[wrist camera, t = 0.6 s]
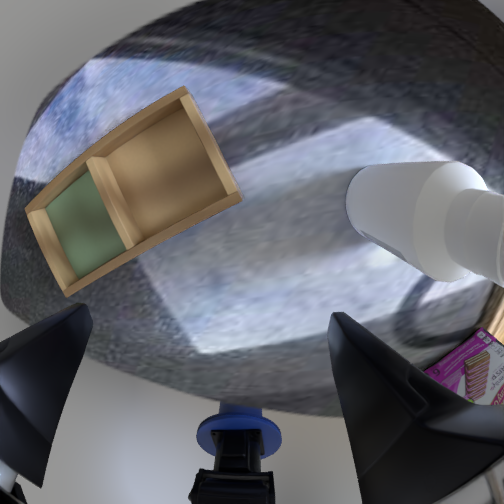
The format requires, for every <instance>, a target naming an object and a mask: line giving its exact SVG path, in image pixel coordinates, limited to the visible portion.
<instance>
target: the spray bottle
mask: <svg viewBox="0 0 504 504" xmlns="http://www.w3.org/2000/svg"><path fill="white" fill-rule="evenodd" d="M346 209H347V215H348V217H349V220H350V222H351V224H352V226H353V227H354V228H355V229H356V230H357V232H358V233H359V234H360V235H362V236H364V237H366V238H367V239H369V240H371V241H372V242H374V243H376V244H377V245H379V246H381V247H383V248H384V249H386V250H388V251H389V252H391V253H392V254H394V255H396V256H397V257H399V258H401V259H402V260H404V261H405V262H407V263H409V264H410V265H412V266H413V267H415V268H416V269H418V270H420V271H421V272H423V273H424V274H426V275H427V276H429V277H431V278H432V279H434V280H435V281H441V282H454V281H456V280H459V279H462V278H464V277H465V276H466V275H468V274H469V273H470V272H473V273H475V274H478V275H482V276H484V277H486V278H488V279H489V280H491V281H493V282H495V283H497V284H498V285H500V286H502V287H503V288H504V195H501V194H497V193H495V192H493V191H488V189H487V187H486V185H485V183H484V181H483V179H482V178H481V176H480V175H479V174H478V173H477V172H476V171H475V170H474V169H473V168H472V167H470V166H467V165H465V164H463V163H461V162H458V161H431V162H406V163H389V164H377V165H370V166H368V167H366V168H364V169H362V170H360V171H359V172H358V173H357V174H356V176H355V177H354V178H353V179H352V181H351V183H350V185H349V187H348V189H347V196H346Z"/></svg>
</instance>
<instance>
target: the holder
mask: <svg viewBox="0 0 504 504" xmlns="http://www.w3.org/2000/svg"><path fill="white" fill-rule="evenodd" d="M243 199H244V196H243V194H242V192H241V190H240V188H239V186H238V184H237V182H236V180H235V178H234V176H233V174H232V172H231V170H230V168H229V166H228V164H227V162H226V160H225V158H224V156H223V154H222V152H221V150H220V148H219V146H218V144H217V143H216V141H215V139H214V137H213V135H212V133H211V131H210V129H209V127H208V125H207V123H206V121H205V119H204V117H203V115H202V113H201V111H200V109H199V107H198V106H197V104H196V102H195V100H194V98H193V96H192V95H191V93H190V92H189V91H188V90H187V88H186V87H185V86H182V87H180V88H178V89H177V90H175V91H173V92H171V93H169V94H168V95H166V96H164V97H162V98H161V99H159V100H157V101H156V102H154V103H152V104H151V105H149V106H148V107H146V108H144V109H143V110H141V111H140V112H138V113H137V114H135V115H134V116H132V117H131V118H129V119H128V120H126V121H125V122H123V123H122V124H120V125H119V126H118V127H116V128H115V129H113V130H112V131H111V132H109V133H108V134H107V135H105V136H104V137H103V138H101V139H100V140H99V141H97V142H96V143H95V144H94V145H92V146H91V147H90V148H88V149H87V150H86V151H85V152H84V153H82V154H81V155H80V156H79V157H78V158H76V159H75V160H74V161H73V162H72V163H71V164H69V165H68V166H67V167H66V168H65V169H64V170H63V171H62V172H61V173H59V174H58V175H57V176H56V177H55V178H54V179H53V180H52V181H51V182H50V183H49V184H48V185H47V186H46V187H45V188H44V189H43V190H42V191H41V192H40V193H39V194H38V195H37V196H36V197H35V198H34V199H33V200H32V201H31V202H30V203H29V204H28V205H27V206H26V208H25V211H26V214H27V217H28V219H29V222H30V224H31V227H32V229H33V232H34V234H35V236H36V239H37V241H38V243H39V246H40V248H41V250H42V252H43V254H44V256H45V258H46V260H47V263H48V265H49V267H50V269H51V271H52V272H53V274H54V276H55V278H56V280H57V282H58V284H59V286H60V287H61V289H62V291H63V293H64V295H65V296H66V298H67V297H69V296H70V295H72V294H74V293H75V292H77V291H79V290H80V289H82V288H83V287H85V286H87V285H88V284H90V283H92V282H93V281H95V280H97V279H98V278H100V277H102V276H103V275H105V274H107V273H109V272H110V271H112V270H114V269H115V268H117V267H119V266H121V265H122V264H124V263H126V262H128V261H129V260H131V259H133V258H135V257H136V256H138V255H140V254H142V253H144V252H145V251H147V250H149V249H151V248H153V247H154V246H156V245H158V244H160V243H162V242H164V241H165V240H167V239H169V238H171V237H173V236H175V235H177V234H179V233H180V232H182V231H184V230H186V229H188V228H190V227H192V226H194V225H196V224H198V223H200V222H202V221H203V220H205V219H207V218H209V217H211V216H213V215H215V214H217V213H219V212H221V211H223V210H225V209H227V208H229V207H231V206H233V205H235V204H237V203H239V202H242V201H243Z"/></svg>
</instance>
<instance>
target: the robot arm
mask: <svg viewBox="0 0 504 504" xmlns="http://www.w3.org/2000/svg"><path fill="white" fill-rule="evenodd" d="M92 327H93V320H92V317H91V315H90V312H89V309H88V306H87V305H86V304H84V303H75V304H73V305H71V306H69V307H67V308H65V309H63V310H61V311H59V312H57V313H55V314H53V315H51V316H49V317H47V318H45V319H44V320H42V321H40V322H38V323H36V324H34V325H32V326H30V327H28V328H26V329H24V330H22V331H20V332H19V333H17V334H15V335H13V336H11V338H10V337H9V338H7V339H5V340H3V341H1V342H0V504H27V502H26V499H25V496H24V494H23V491H22V488H21V485H19V484H18V483H17V482H15V481H16V478H17V475H18V474H19V475H20V476H22V477H23V478H25V479H26V480H28V481H29V482H31V483H32V484H34V485H36V486H37V487H39V488H41V487H42V485H43V480H44V475H45V471H46V467H47V463H48V458H49V454H50V451H51V447H52V442H53V439H54V436H55V433H56V429H57V426H58V423H59V420H60V417H61V414H62V411H63V407H64V405H65V402H66V399H67V396H68V394H69V391H70V388H71V386H72V383H73V380H74V378H75V375H76V373H77V370H78V367H79V365H80V363H81V360H82V358H83V355H84V352H85V349H86V345H87V342H88V339H89V336H90V333H91V330H92ZM327 337H328V344H329V350H330V357H331V364H332V371H333V376H334V381H335V384H336V388H337V392H338V396H339V400H340V404H341V408H342V412H343V416H344V420H345V424H346V428H347V432H348V437H349V441H350V445H351V450H352V454H353V459H354V463H355V468H356V473H357V478H358V479H359V480H358V483H359V488H360V493H361V498H362V504H504V404H494V405H479V404H475V403H472V402H470V401H468V400H466V399H465V398H463V397H461V396H460V395H458V394H456V393H455V392H453V391H452V390H450V389H448V388H447V387H445V386H443V385H442V384H440V383H439V382H437V381H436V380H434V379H433V378H431V377H430V376H428V375H427V374H425V373H424V372H423V371H421V370H420V369H419V368H417V367H416V366H415V365H413V364H410V362H409V361H408V360H407V359H405V358H404V357H403V356H401V355H400V354H399V353H397V352H396V351H395V350H393V349H392V348H391V347H389V346H388V345H387V344H385V343H384V342H383V341H382V340H380V339H379V338H378V337H376V336H375V335H374V334H372V333H371V332H370V331H368V330H367V329H366V328H364V327H363V326H362V325H360V324H359V323H358V322H356V321H355V320H354V319H352V318H351V317H350V316H348V315H347V314H346V313H344V312H333V313H332V314H331V317H330V322H329V327H328V333H327ZM210 435H211V437H212V440H213V443H214V445H215V448H216V454H215V462H214V470H204V469H199V472H198V473H197V474H196V478H195V482H194V485H193V488H192V490H191V492H190V493H189V496H188V499H189V500H190V501H191V503H192V504H275V489H274V478H273V471H269V472H261V461H260V460H261V456H263V455H265V449H264V443H263V436H262V430H261V429H236V430H211V432H210Z"/></svg>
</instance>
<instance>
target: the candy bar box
mask: <svg viewBox="0 0 504 504" xmlns="http://www.w3.org/2000/svg"><path fill="white" fill-rule="evenodd" d="M424 373H425V374H427V375H428V376H430V377H431V378H433V379H434V380H436V381H437V382H439V383H440V384H442V385H443V386H445V387H447V388H448V389H450V390H452V391H453V392H455V393H456V394H458V395H460V396H461V397H463V398H465V399H466V400H468V401H470V402H472V403H475V404H479V405H494V404H504V345H503V344H502V343H501V342H499V341H498V340H497V339H496V338H495V337H494V336H492V335H491V334H490V333H489V332H488V331H487V330H485V329H484V328H483V327H481V328H480V329H479V330H478V331H477V332H475V333H474V334H473V335H472V336H471V337H470V338H468V339H467V340H466V341H465V342H463V343H462V344H461V345H460V346H458V347H457V348H456V349H455V350H453V351H452V352H451V353H449V354H448V355H447V356H445V357H444V358H443V359H441V360H440V361H438V362H437V363H436V364H434V365H433V366H431V367H430V368H428V369H427V370H425V371H424Z"/></svg>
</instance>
